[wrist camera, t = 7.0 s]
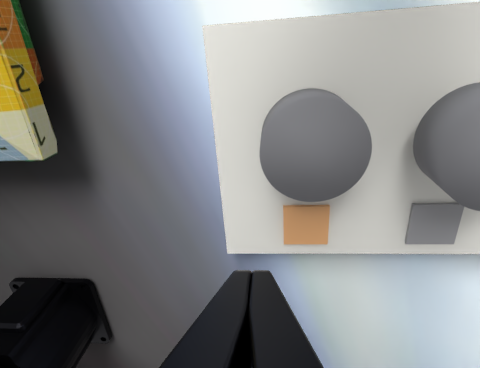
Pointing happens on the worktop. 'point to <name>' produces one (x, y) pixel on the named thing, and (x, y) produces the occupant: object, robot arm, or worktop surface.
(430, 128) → the button middle
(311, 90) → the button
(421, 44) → the button board
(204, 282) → the worktop surface
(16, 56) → the puzzle game
